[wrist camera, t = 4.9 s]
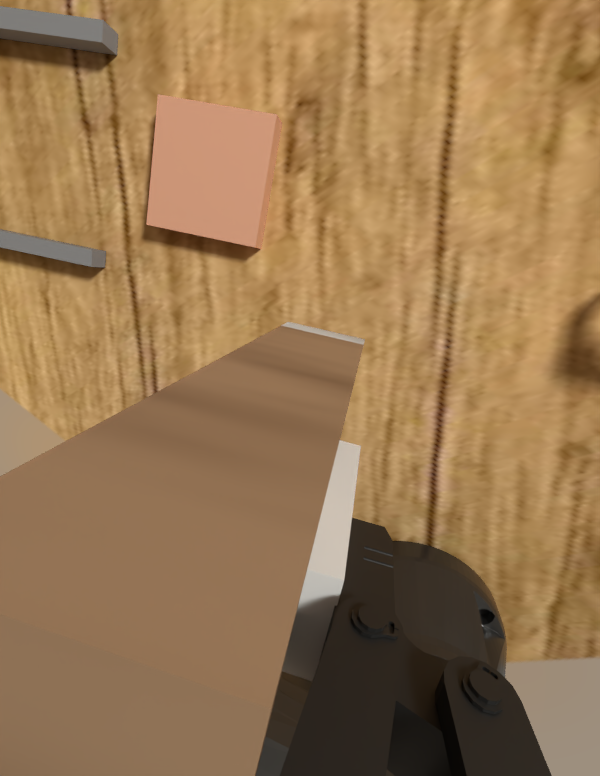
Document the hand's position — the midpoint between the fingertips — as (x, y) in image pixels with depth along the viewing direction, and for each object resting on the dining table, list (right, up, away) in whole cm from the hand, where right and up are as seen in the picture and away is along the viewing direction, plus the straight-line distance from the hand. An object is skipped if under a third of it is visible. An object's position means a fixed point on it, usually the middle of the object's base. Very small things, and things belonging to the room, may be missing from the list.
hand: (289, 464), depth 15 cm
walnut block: (0, +1, +2) cm, 3 cm away
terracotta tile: (-5, +17, +15) cm, 23 cm away
